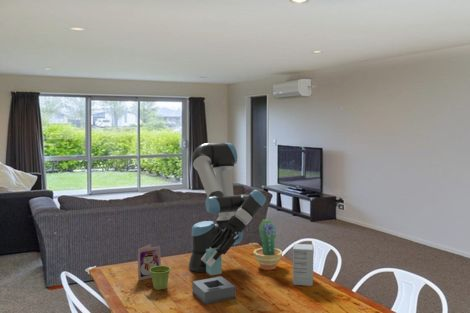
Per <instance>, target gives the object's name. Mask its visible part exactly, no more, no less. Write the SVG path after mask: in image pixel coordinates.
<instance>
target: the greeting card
mask: <svg viewBox="0 0 470 313" xmlns="http://www.w3.org/2000/svg"><path fill="white" fill-rule="evenodd" d="M161 256H162V255H161V245H156V246H152V243H149V244H147V245H145V246H143V247H140V248H138V249H137V274H138V278H137V279H138V280H139V281H143V280H149V279H152V275H151V272H150V268H152V267H155V266H162V264H161V263H162V262H161V261H162V260H161Z"/></svg>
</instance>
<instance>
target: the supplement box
mask: <svg viewBox="0 0 470 313" xmlns="http://www.w3.org/2000/svg"><path fill="white" fill-rule="evenodd" d="M292 285H293V286H308V287H309V286H310V287H313V285H314V244H308V243H307V244H304V243H293V247H292Z"/></svg>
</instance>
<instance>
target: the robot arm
mask: <svg viewBox="0 0 470 313" xmlns="http://www.w3.org/2000/svg"><path fill="white" fill-rule="evenodd" d="M237 162H238V152H237V149H236V146H235V145H234V144H233V143H230V142H211V143H210V142H209V143H208V142H206V143H202V144H200V145H199V146H197V147H196V148H195V149H194V151H193V153H192V156H191V163H192V167H193V168H194V169H195V170H196V172H197V173H198V176H199V179H200V181H201V184H202V186H203V189H204V192H205V194H206V199H205V203H204V204H205V210H206V212H207V213H209V214H218V217H217V218H216V220H215V222H216V223H215V222H214V221H212V220H208V221H207V220H204V221H203V220H202V221H199V222H197V223H194V224H193V225H192V227H191V233H190V234H191V255H190V259H189V262H188V269H189V271H192V272H196V273H207V272H206V264H208V265H209V266H210V267H211V266H212V265H213V264H214V262H215V261H216V260H217V259H218V257H219V256H220V255H221V256H222V255H224V256H225V255H226V254H227V252H228V251H229V250H230V248H232V246H233V245H238V244H239V243H240V242H242V240H243V236H244V230H245V229H246V226H247V225H248V224H249V223H251V220H252V219H253V218H254V217H255V216H256V215H257V213H258V212H259V211H260V210H261V208H262V207H263V206H264V204H265V203H266V201H267V197H266V195H264V194H263V193H262V192H261V191H260V190H257V189H253V190H252V191H251V192H250V193H249V194H245V193H242V194H241V193H239V194H234V185H233V170H234V168H235V164H237ZM240 244H241V243H240ZM210 248H218V249H216V251H215V252H214V253H213V255H212V256H211V257H210V258H209V259H208V261H207V262H206V249H210Z"/></svg>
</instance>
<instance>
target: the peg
mask: <svg viewBox="0 0 470 313" xmlns="http://www.w3.org/2000/svg"><path fill="white" fill-rule="evenodd" d="M218 248H219V247H217V248H210V249H206V262H207V261H208V259H209V258H210V257H211V256H212V255H213V253H214V252H215V251H216V249H218ZM222 269H223V266H222V255H220V256H219V257H218V259H217V260H216V261H215V262H214V264H213V265H212V266H211V267H210V266H209V265H208V264H206V272H205V273H206V274H208V275H210V276H215V275H221V274H222Z"/></svg>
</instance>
